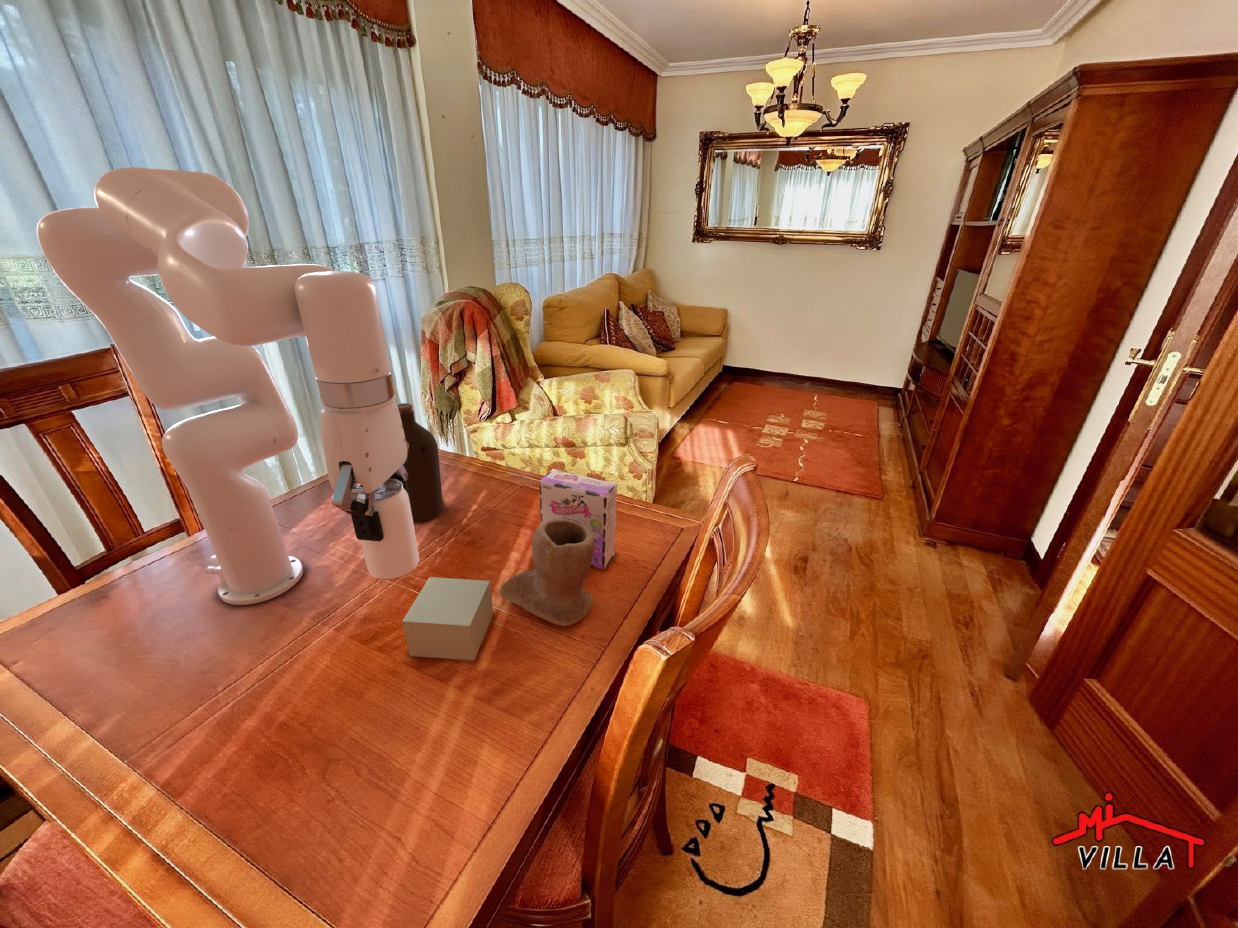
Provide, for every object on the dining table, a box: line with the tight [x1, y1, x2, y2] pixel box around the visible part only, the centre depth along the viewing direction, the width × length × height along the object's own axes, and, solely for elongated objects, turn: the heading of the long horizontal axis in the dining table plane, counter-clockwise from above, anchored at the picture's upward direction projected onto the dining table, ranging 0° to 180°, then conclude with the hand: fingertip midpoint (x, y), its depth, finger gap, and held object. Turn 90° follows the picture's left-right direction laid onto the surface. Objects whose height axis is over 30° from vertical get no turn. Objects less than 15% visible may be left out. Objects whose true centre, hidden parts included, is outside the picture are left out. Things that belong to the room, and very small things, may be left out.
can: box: [357, 478, 420, 581], centre depth 65 cm, size 6×6×12 cm
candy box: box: [538, 468, 618, 570], centre depth 96 cm, size 14×6×16 cm, turn 68°
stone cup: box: [498, 519, 595, 627], centre depth 84 cm, size 15×12×15 cm
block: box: [401, 576, 494, 661], centre depth 78 cm, size 10×10×7 cm
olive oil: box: [397, 402, 444, 523], centre depth 106 cm, size 11×11×25 cm
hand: (385, 521), depth 64 cm, fingers closed on can, 6 cm apart
